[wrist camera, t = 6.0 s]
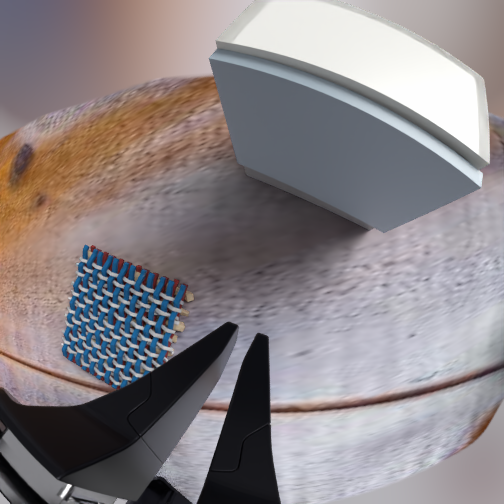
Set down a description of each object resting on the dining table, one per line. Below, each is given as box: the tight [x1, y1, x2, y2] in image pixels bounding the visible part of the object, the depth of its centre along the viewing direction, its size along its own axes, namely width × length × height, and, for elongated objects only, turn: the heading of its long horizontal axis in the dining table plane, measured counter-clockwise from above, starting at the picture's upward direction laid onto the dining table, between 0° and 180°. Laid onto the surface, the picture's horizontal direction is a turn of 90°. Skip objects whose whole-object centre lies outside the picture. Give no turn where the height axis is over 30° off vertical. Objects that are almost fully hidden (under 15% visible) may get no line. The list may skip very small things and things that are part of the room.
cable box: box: [216, 0, 490, 230], centre depth 13 cm, size 5×10×13 cm, turn 65°
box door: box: [209, 48, 483, 233], centre depth 11 cm, size 1×10×9 cm, turn 63°
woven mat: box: [61, 245, 194, 389], centre depth 19 cm, size 10×11×2 cm
